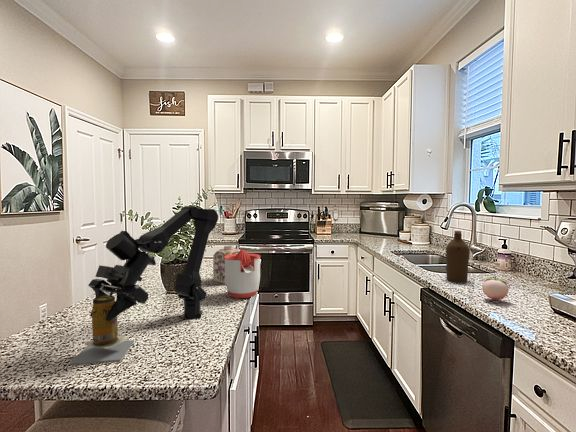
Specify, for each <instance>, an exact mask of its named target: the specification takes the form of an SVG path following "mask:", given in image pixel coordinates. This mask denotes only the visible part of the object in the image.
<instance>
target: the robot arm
mask: <svg viewBox="0 0 576 432" xmlns="http://www.w3.org/2000/svg"><path fill="white" fill-rule="evenodd" d="M191 220H193V226H194V230H195V232H194V234H193V239H192V243H191V246H190V249H189V250H190V251H189V253H188V257H187V261H186V265H185V268H184V270H183V271H182V272H181V273H180V272H178V273H177V274H176V278H175V281H174V290H175V293H176V294H177V296H178V299H183V313H182V316H181V319H182V320H184V319H185V320H186V319H200V318H202V315H203V311H204V310H202V309H201V307H202V306H201V302H202V301H203V300H205V299H206V298H207V292H206V291H205V290H204V289H203V287H201V285H202V277H201V273H200V270H201V266H202V262H203V259H204V256H205V250H206V247H207V243H208V239H209V235H210V233H211V232H212V231H213V230H214V229H215V228H216V225H217V223H218V220H219V214H218V212H217V210H215V209H213V208H200V207H197V206H195V205H184V206H183V207H181V209H180V210H179V211H178V212H177V213H175V214H174V215H173V216H171V217H170V218H169V219H168V220H167V221H166V222H164V223H163V224H162V225H160V226H159V227H157V228H154V229H150V230H149V231H147V232H146V233H143V234H142V235H140V236H139V237H138V238H136V239H135V238H133V237H132V236H131V234H130V233H129V232H128V231H127V230H121V231H120V232H119V233H117V234H115V235H113V236H112V237H111V238H109V239H108V241H107V242H106V244H105V248H106V249H107V250H108V251H109V252H110V253H112V254H113V255H114V256H115V257H116V258H117V259H119V260H120V261H125V260H126V261H125V262H124V264H123V265H120V264H116V265H114V267H113V266H108V265H107V266H106V265H99V266H98V268H97V271H96V274H95V278H93V279H91V281H90V282H89V283H88V287H89V288H91V289H92V291H94V294H95V297H94V298H96V297H99V296H106V295H111V296H113V294H116V296H115V303H114V305H113V306H112V308H111V310H110V312H109V313H108V315H107V317H106V320H107V321H110V320H112V319H113V318H115V317H116V316H117V317H118V316H119V315H120V314H122V313H123V312H125V311H127V310H129V309H130V308H132V307H134V306H137V305H138V304H143V305H145V304H146V302H147V301H148V300H149V293H148V292H147V291H146V290H144V288H142V287H141V286H140V285H138V284H137V282H142V280H143V279H144V278H143V277H141V276H142V275H143V273H144V271H146V269H147V267H148V266H156V265H157V263H156V260H155V257H156V256H155V255H149V254H148V253H150V254H160V253H162V252H163V251H164V249H165V248H166V247H167V246H168V245H169V242H170V241H171V240H170V239H171V238H172V237H173V236H174V235H175V234H176V233H177V232H178V231H179V230H181V229H182V228H183V227H185V225H187V224H188V223H189V222H190V221H191ZM101 278H102V279H101ZM105 279H106V280H105ZM93 308H94V307H93V306H92V308H91V312H90V313H89V314H90V315H89V316H90V317H91V318H92V309H93Z"/></svg>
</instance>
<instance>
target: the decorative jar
mask: <svg viewBox="0 0 576 432" xmlns="http://www.w3.org/2000/svg"><path fill="white" fill-rule="evenodd" d="M240 250H241V249H240V248H236V247H234V245H231V244H229V245H227V244H226V245H224V246H223V248H221V249H218V250H216V251H215V253H214V254H213V256H212V257H213V259H212V260H213V261H212V262H213V263H212V265H213V266H212V268H213V270H212V271H213V274H212V275H213V276H212V277H213V278H212V279H213V282H215V283H219V284H223V285H226V282H225V258H224V256H226V255H231V254H238V252H239V251H240Z"/></svg>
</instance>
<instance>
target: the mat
mask: <svg viewBox="0 0 576 432" xmlns="http://www.w3.org/2000/svg"><path fill="white" fill-rule="evenodd" d="M134 343H135V340H134V339H131V340H130V339H127V340H125V341H123V342H121V343H119V344H117V345H114V346H112V347H110V348H107V349H106V348H101V347H98V346H91V345H87V346H85V347H84V348H83V349H82V350H81V351H80V353H78V354H77V355H76V356H75V357H74V358H73V359H72V360H71V361H70V362H69V366H73V365H76V366H77V365H88V364H100V363H101V364H102V363H115V362H118V363H119V362H121V361H122V360H123V358H124V357H125V356H126V354H127V353H128V352H129V350H130V348H132V346H133V344H134Z"/></svg>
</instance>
